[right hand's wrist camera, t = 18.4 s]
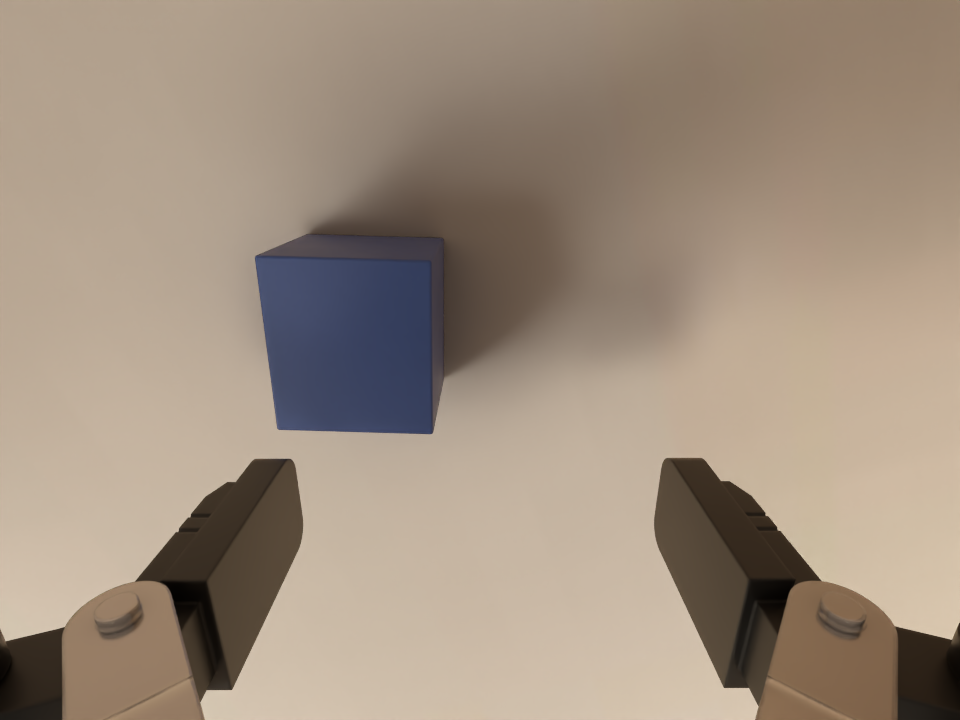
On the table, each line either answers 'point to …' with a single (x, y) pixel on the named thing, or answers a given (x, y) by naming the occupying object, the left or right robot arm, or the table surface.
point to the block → (354, 332)
